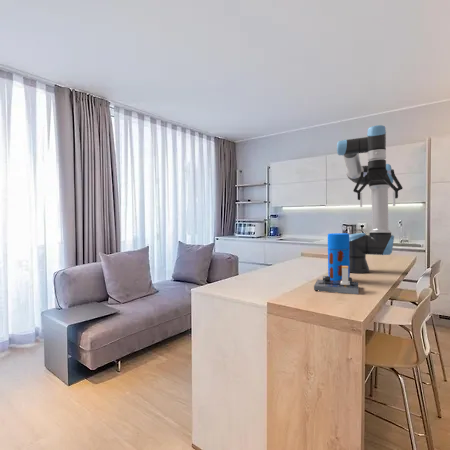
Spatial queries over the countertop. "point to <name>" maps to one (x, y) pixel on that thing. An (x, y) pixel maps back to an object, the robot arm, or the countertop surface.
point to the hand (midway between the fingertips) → (377, 206)
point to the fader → (345, 276)
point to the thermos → (338, 255)
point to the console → (336, 286)
